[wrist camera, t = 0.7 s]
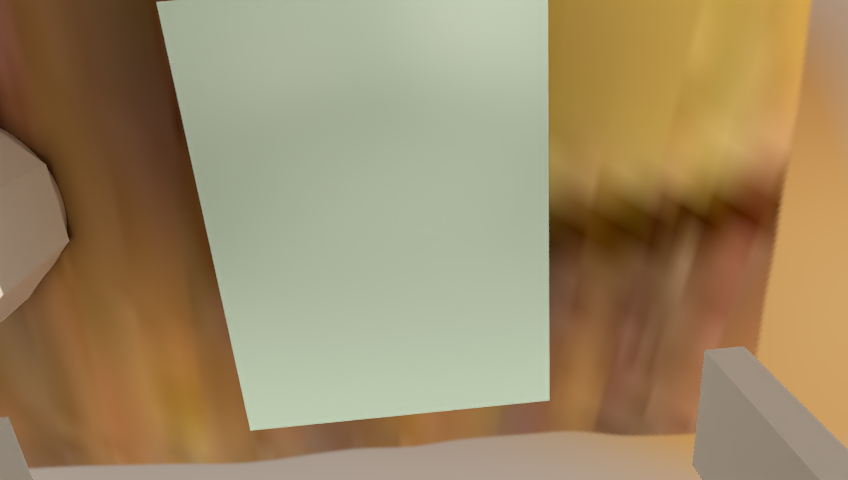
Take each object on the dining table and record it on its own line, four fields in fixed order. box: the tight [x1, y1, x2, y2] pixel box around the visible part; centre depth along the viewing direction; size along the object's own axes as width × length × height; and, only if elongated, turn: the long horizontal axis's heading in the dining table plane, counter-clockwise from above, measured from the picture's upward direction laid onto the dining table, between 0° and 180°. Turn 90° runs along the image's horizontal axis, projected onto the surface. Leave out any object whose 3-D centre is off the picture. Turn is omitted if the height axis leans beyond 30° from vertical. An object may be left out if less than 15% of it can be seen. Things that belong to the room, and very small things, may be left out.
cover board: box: [156, 0, 549, 431], centre depth 23 cm, size 16×12×2 cm
